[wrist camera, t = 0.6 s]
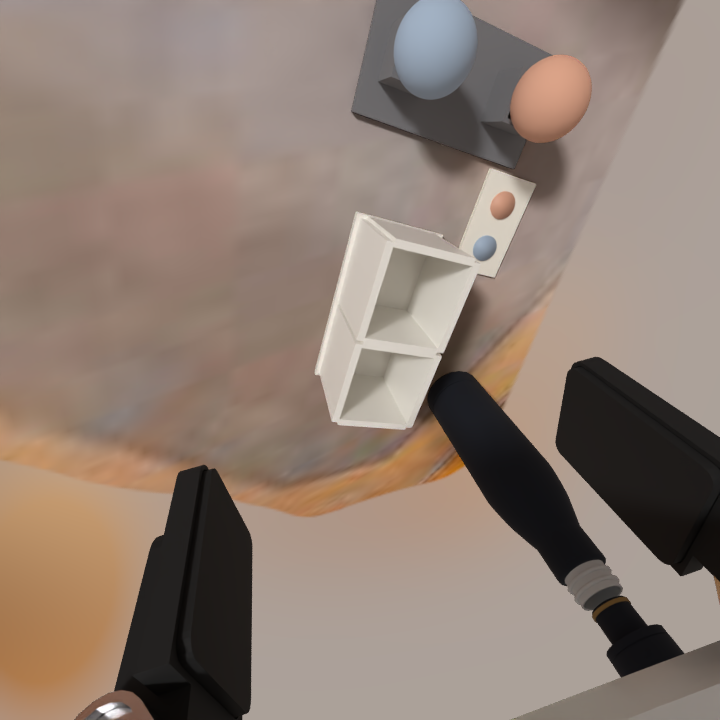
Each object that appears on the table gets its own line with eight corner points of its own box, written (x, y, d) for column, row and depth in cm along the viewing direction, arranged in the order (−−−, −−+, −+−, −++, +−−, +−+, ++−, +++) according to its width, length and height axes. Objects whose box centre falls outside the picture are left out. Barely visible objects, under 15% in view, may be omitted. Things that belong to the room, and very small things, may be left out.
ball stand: (382, -26, 26) (400, -48, 22) (555, 60, 31) (590, 52, 27) (351, 111, 29) (362, 109, 26) (510, 168, 34) (537, 172, 31)
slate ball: (397, -9, 24) (428, -38, 19) (466, 25, 25) (508, 4, 21) (374, 87, 26) (397, 79, 22) (439, 112, 27) (472, 109, 23)
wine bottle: (433, 371, 44) (668, 693, 19) (483, 370, 46) (758, 666, 21) (422, 415, 47) (609, 742, 22) (468, 413, 49) (692, 715, 24)
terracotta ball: (515, 48, 27) (564, 34, 22) (570, 75, 28) (625, 66, 24) (485, 129, 29) (524, 130, 25) (538, 150, 30) (582, 153, 26)
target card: (489, 168, 34) (492, 168, 33) (534, 183, 35) (537, 184, 35) (451, 266, 38) (453, 268, 37) (493, 276, 39) (495, 278, 39)
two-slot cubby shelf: (355, 211, 33) (383, 234, 26) (440, 233, 36) (487, 260, 29) (314, 371, 40) (327, 424, 33) (387, 380, 43) (413, 430, 36)
